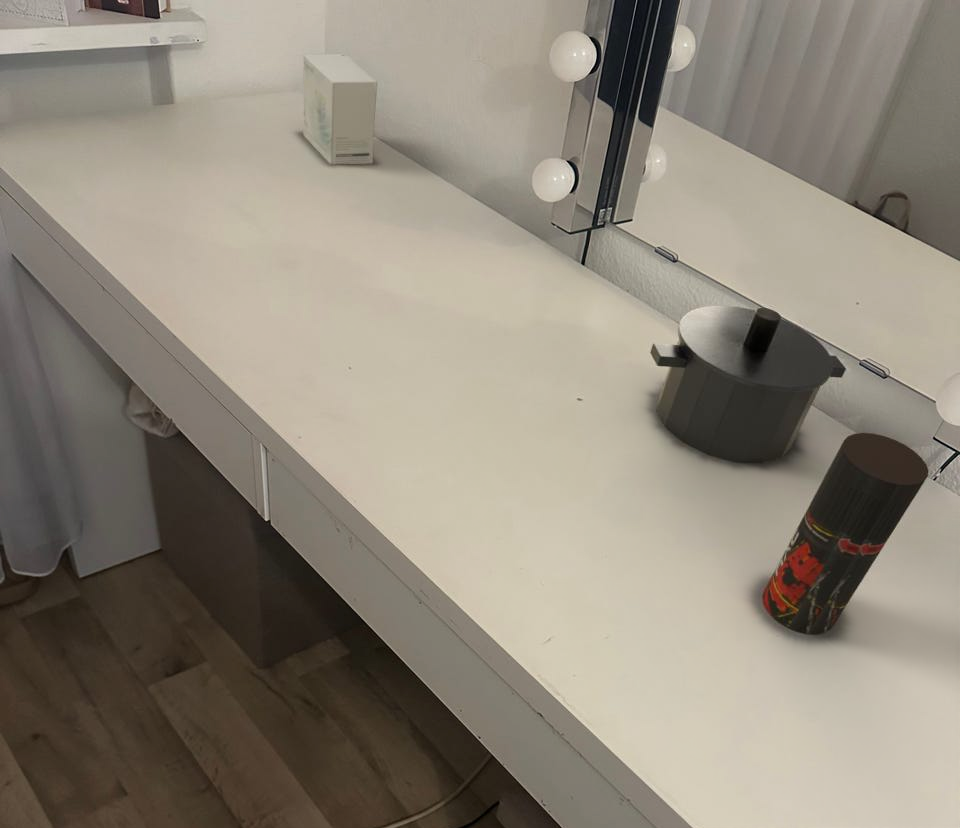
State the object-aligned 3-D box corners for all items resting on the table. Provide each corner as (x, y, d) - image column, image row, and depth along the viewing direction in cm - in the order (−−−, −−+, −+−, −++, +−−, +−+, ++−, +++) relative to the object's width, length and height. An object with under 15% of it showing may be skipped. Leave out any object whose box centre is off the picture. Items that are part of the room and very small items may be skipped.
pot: (615, 384, 93) (638, 305, 87) (782, 393, 97) (815, 319, 91) (652, 464, 84) (681, 383, 78) (835, 471, 88) (876, 394, 82)
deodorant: (840, 643, 71) (940, 490, 60) (767, 634, 70) (855, 478, 59) (822, 591, 75) (912, 439, 64) (753, 582, 74) (832, 427, 63)
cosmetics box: (300, 138, 125) (301, 51, 118) (344, 138, 128) (348, 53, 120) (328, 169, 119) (332, 79, 112) (373, 168, 122) (379, 80, 115)
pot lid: (656, 310, 88) (669, 269, 85) (791, 321, 91) (808, 282, 88) (704, 394, 78) (721, 351, 75) (854, 402, 81) (875, 361, 78)
